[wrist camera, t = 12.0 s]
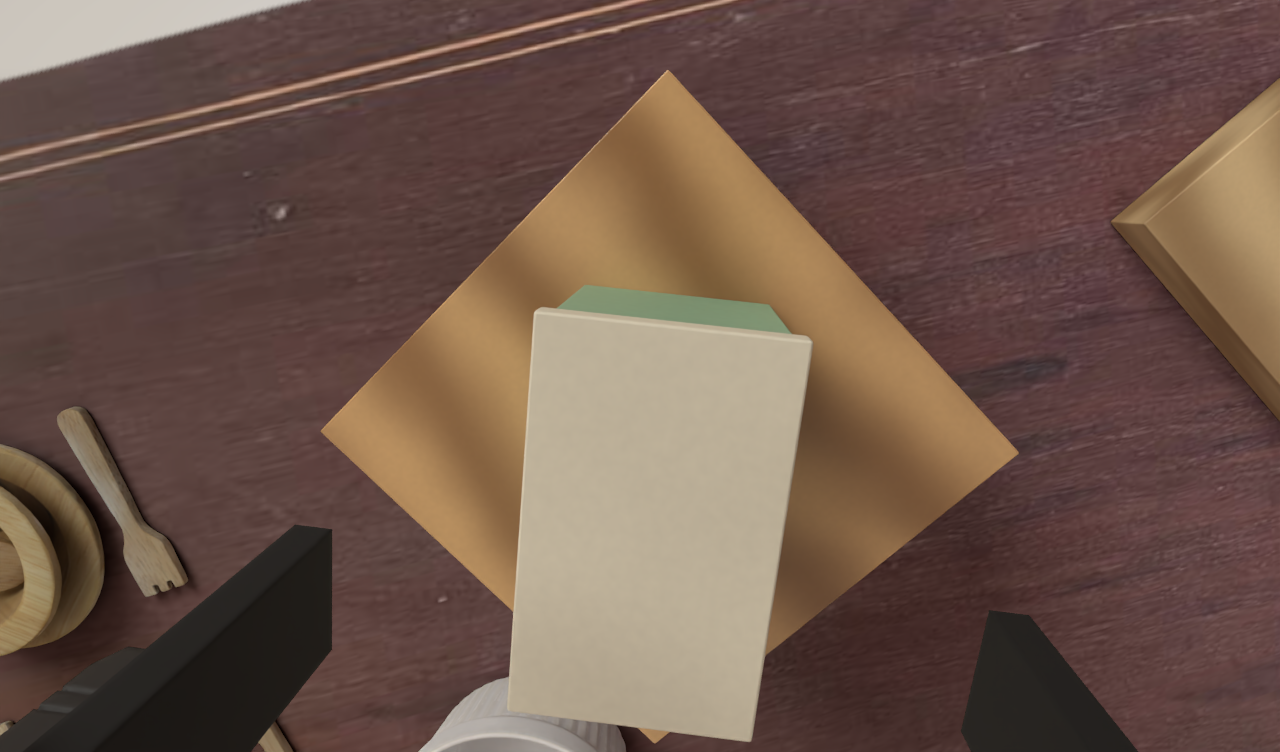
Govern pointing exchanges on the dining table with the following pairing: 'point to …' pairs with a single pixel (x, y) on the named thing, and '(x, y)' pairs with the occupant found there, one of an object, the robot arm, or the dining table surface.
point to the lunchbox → (653, 508)
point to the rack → (692, 266)
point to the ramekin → (517, 728)
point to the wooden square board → (1223, 240)
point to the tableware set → (71, 546)
